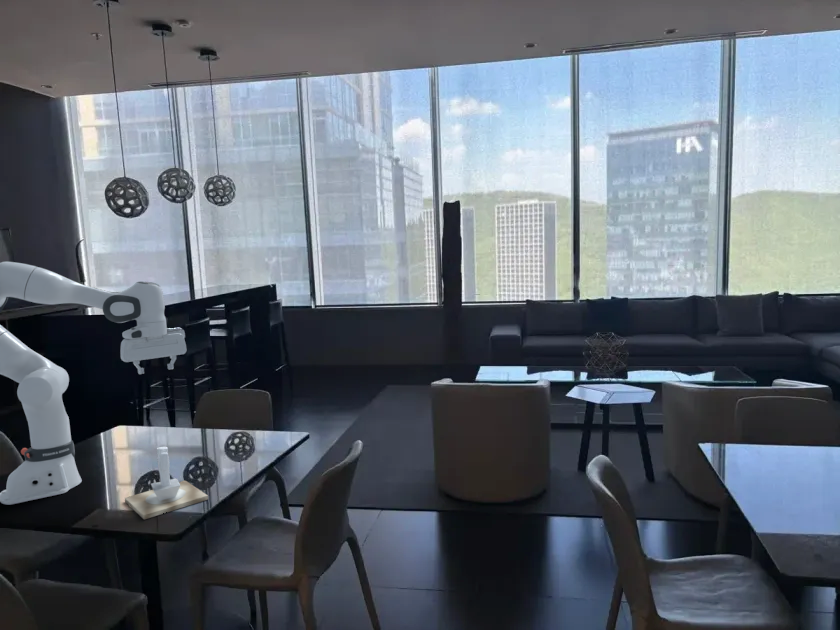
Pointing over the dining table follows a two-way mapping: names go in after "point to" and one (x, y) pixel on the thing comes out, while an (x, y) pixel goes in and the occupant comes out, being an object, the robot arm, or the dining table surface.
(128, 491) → the dining table surface
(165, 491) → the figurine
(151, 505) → the oak board
